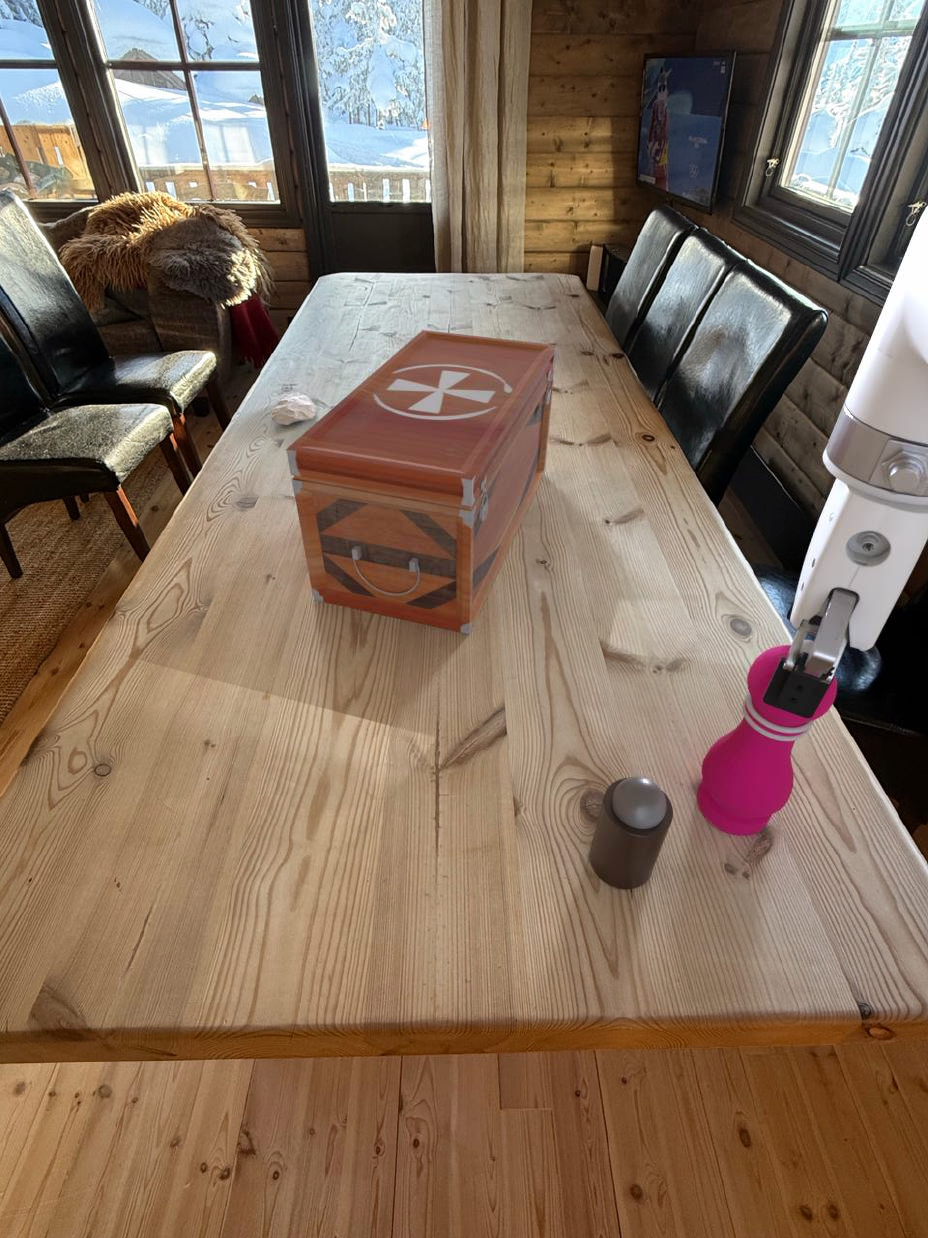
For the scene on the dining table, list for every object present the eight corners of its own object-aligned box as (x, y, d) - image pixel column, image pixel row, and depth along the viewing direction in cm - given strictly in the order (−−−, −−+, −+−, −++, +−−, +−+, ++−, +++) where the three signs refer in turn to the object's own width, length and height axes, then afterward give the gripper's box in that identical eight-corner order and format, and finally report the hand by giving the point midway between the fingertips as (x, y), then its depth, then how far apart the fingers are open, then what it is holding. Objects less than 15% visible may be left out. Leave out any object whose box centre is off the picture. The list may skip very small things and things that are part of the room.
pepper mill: (686, 767, 62) (748, 605, 49) (765, 777, 62) (849, 614, 48) (695, 836, 57) (768, 674, 44) (782, 847, 56) (882, 686, 43)
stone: (269, 429, 116) (266, 418, 115) (278, 397, 127) (276, 387, 125) (314, 427, 117) (312, 416, 116) (319, 396, 127) (318, 386, 126)
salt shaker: (660, 849, 56) (688, 776, 49) (641, 901, 52) (668, 831, 46) (602, 822, 58) (621, 749, 51) (580, 871, 54) (598, 799, 48)
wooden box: (547, 473, 105) (560, 344, 92) (471, 636, 76) (474, 482, 63) (426, 454, 110) (423, 328, 97) (311, 601, 80) (283, 450, 67)
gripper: (988, 546, 29) (839, 771, 41) (978, 405, 41) (864, 612, 52) (810, 501, 32) (717, 724, 44) (847, 380, 43) (766, 583, 55)
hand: (797, 663), depth 48 cm, fingers open, 9 cm apart
